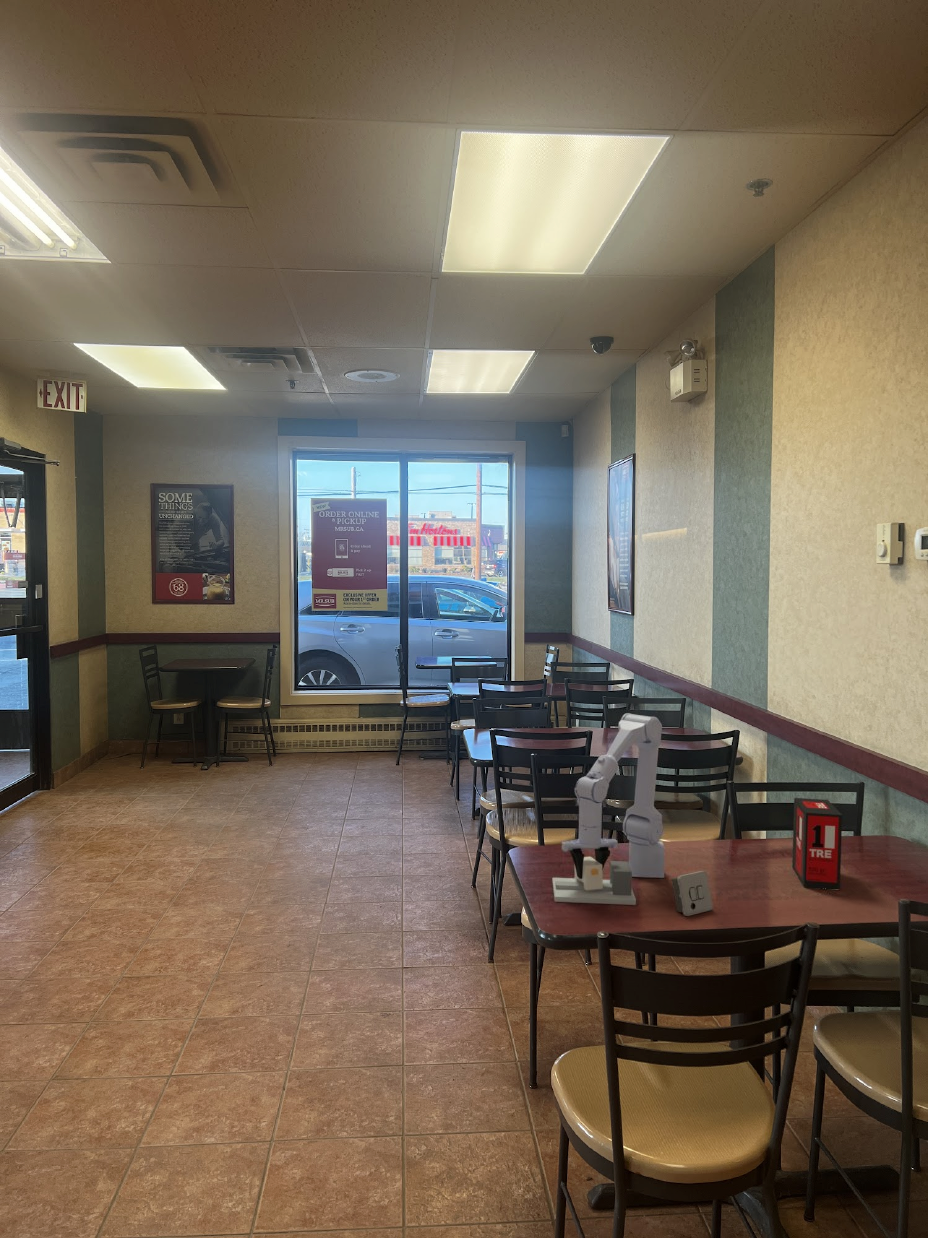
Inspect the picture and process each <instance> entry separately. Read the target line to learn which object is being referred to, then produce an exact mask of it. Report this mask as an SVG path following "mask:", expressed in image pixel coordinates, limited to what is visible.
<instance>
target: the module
mask: <svg viewBox="0 0 928 1238" xmlns="http://www.w3.org/2000/svg"><path fill="white" fill-rule="evenodd" d="M573 867H574V868H573V869H574V878H575V882H583V883H584V889H585V890H594V889H603V880H604V878H603V877H604V876H603V871H602V864H600V863H599V862H597V861H596V860H595V858H593V857H592V856H584V861H583V875H582V879H579V878H578V877H577V872H576V868H575V864H573Z"/></svg>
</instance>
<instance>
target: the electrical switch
mask: <svg viewBox="0 0 928 1238" xmlns="http://www.w3.org/2000/svg"><path fill="white" fill-rule="evenodd" d="M708 878H709V877H708V873H707V871H705V870H700V871H695V872H691V873H685V874H681V875H678V876H677V877H673V878H671V885H672V888H673V895H674V900H675V906H676V912H677V913H682V914H683V916H685V917H691V916H694V915H697V914H701V913H705V912H709V911H712V910H713V908H714V906H713V900H712V894H711V890H710V889H711V888H710V884H709V882H710V881H709V879H708Z"/></svg>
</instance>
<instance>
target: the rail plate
mask: <svg viewBox="0 0 928 1238" xmlns="http://www.w3.org/2000/svg"><path fill="white" fill-rule="evenodd" d="M632 881H633V877H632V871H631V868H630V866H629V861H626V860H625V861H622V860H621V861H620V860H617V861H616V860H610V861H609V879H603V889H594V890H585V889H584V883H583V882H575V877H573V878H572V877H552V880H551V883H552V888H553V889H552V890H553V898H554V899H553V900H554V902H556V903H558V902H559V903H577V904H579V903H581V904H582V903H583V904H604V905H605V904H606V905H607V904H609V905H630V906H637V899H636V896H635V894H634V890H633V888H632V887H633V886H632V884H633V883H632Z"/></svg>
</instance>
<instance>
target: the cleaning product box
mask: <svg viewBox="0 0 928 1238" xmlns="http://www.w3.org/2000/svg"><path fill="white" fill-rule="evenodd" d="M792 827H793V830H792V858H791V859H792V860H791V861H792V862H791V867H792V870H793V871H794V874H795V875H796V876H798V877H797V878H798V880H799V882H800V883H801V885H802V887H803V888H805V889H815V888H820V889H819V890H827V889H840V890H841V871H842V870H841V866H842V865H841V863H842V838H843V837H842V836H843V835H842V834H843V833H842V832H843V814H842V813H841V812H840V811H839V810H838V809H837V808H836V807H835V805H834V804H832V802H830V801H829V800H828V799H818V798H805V797H804V798H802V797H794V798H793V826H792ZM823 888H824V889H823ZM825 888H826V889H825Z"/></svg>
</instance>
